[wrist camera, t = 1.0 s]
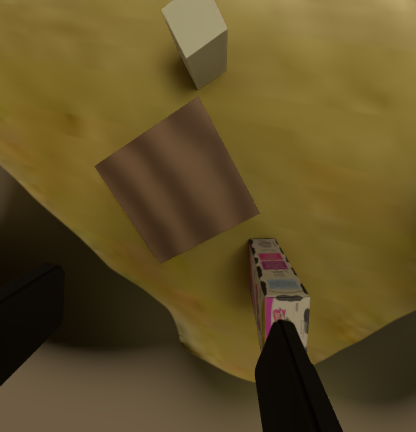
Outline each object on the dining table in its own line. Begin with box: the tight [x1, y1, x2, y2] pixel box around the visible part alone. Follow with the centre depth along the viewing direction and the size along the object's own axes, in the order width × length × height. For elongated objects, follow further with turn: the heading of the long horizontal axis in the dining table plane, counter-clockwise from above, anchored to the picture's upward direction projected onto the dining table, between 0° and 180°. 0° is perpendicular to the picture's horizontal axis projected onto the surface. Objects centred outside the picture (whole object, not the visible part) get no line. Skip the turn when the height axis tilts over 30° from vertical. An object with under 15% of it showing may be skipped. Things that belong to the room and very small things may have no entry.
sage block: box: [161, 0, 228, 89], centre depth 26 cm, size 5×5×10 cm
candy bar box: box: [249, 238, 310, 352], centre depth 30 cm, size 11×5×16 cm, turn 4°
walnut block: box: [95, 96, 260, 264], centre depth 33 cm, size 18×18×6 cm
